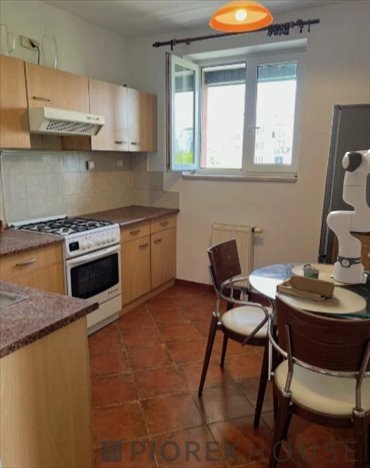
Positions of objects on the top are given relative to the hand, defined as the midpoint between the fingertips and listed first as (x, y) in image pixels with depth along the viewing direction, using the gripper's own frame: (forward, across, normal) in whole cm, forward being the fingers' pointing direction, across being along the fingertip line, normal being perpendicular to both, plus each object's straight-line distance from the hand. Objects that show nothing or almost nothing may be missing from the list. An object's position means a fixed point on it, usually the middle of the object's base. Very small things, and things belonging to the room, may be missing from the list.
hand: (369, 255), depth 158 cm
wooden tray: (+38, +2, -3) cm, 38 cm away
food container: (+40, -12, -5) cm, 42 cm away
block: (+24, +1, +4) cm, 24 cm away
